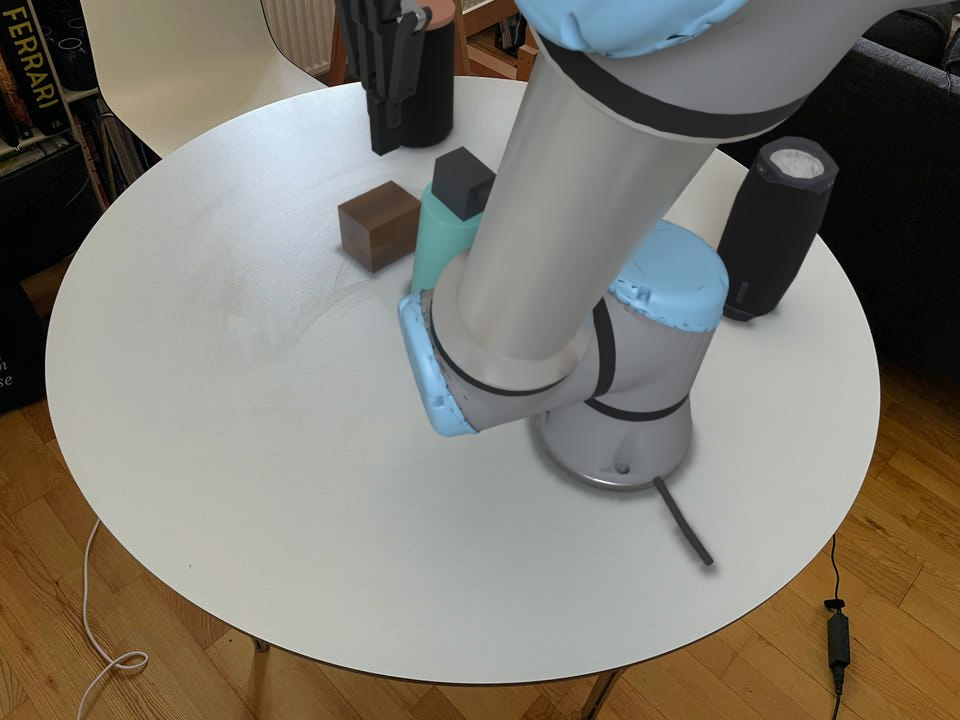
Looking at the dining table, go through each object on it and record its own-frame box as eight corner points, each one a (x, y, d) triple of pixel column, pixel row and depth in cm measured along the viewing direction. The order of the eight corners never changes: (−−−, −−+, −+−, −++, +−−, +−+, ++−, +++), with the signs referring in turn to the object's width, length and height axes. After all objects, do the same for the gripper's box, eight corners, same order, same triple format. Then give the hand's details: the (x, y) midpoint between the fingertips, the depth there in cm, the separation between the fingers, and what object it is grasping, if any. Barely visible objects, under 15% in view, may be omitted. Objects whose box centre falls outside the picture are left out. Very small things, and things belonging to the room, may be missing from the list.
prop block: (424, 245, 93) (423, 203, 89) (372, 273, 90) (369, 231, 85) (393, 222, 96) (391, 179, 91) (342, 248, 92) (337, 205, 88)
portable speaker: (731, 264, 94) (787, 122, 79) (794, 307, 89) (865, 165, 74) (685, 292, 90) (735, 148, 75) (749, 339, 85) (814, 195, 71)
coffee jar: (376, 112, 113) (368, -11, 100) (447, 108, 115) (449, -14, 101) (383, 153, 106) (376, 26, 93) (458, 148, 108) (462, 22, 94)
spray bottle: (474, 305, 91) (563, 259, 75) (426, 334, 87) (508, 293, 71) (413, 198, 90) (489, 128, 73) (361, 223, 86) (430, 155, 70)
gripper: (457, -84, 62) (452, 162, 80) (360, -126, 68) (375, 112, 86) (385, -64, 59) (397, 190, 76) (289, -110, 65) (321, 135, 82)
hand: (386, 148), depth 81 cm, fingers closed
